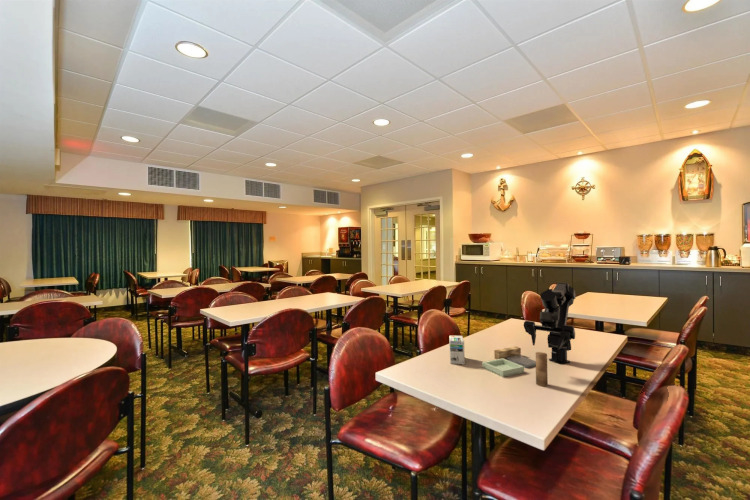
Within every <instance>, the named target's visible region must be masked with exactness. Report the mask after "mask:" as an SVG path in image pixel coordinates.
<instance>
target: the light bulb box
mask: <svg viewBox="0 0 750 500" xmlns="http://www.w3.org/2000/svg"><path fill="white" fill-rule="evenodd" d="M463 336H464V335H453V334H452V335H449V338H448V339H449V340H448V341H449V343H448V344H449V360H450V361H449V363H450V364H452V365H453V364H454V365H465V359H466V358H465V357H466V356H465V340H464V337H463Z"/></svg>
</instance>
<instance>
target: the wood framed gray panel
mask: <svg viewBox="0 0 750 500" xmlns="http://www.w3.org/2000/svg"><path fill="white" fill-rule="evenodd" d="M505 359H506V360H508V361H511V362H513V363H516V364H519V365H521V366H524V369H529V368H533V367H536V360H534V359H531V358H528V357H525V356H523V355H521V356H520V355H513V356H508V357H505Z"/></svg>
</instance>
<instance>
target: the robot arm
mask: <svg viewBox="0 0 750 500" xmlns="http://www.w3.org/2000/svg"><path fill="white" fill-rule="evenodd" d="M576 296H577V294H576V290H575V288H573V287H572V286H571V285H570V284H569V283H567V282H557V283H556V285H555V287H554V288H553V289H551V288H546V290H544V291H542V292H541V293H540V300H541V303H542V307H544V311H540V312H539V321H540V322H539V323H540V324H541V325H540V324H539V325H538V324H536V322H535V321H531V320H525V321H523V328H524V331H525V333H527V334H528V335H529V336H531V343H532V346H535V345H536V339H537V331H543V332H549V334H547V339H546V341H547V346H548V348H550V349H551V358H548V360H549V361H551V362H554V363H557V364H560V365H564V364H568V363H569V364H570V363H571V360H569V359H568V352H569V351H572V342H571V340H575V339H576V331H575V327H574V326H573V325H567V321H568V316H569V315H568V314H569V308H570V307H571V306H573V304H574V301H575V300H576V298H577V297H576Z"/></svg>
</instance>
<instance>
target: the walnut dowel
mask: <svg viewBox="0 0 750 500" xmlns="http://www.w3.org/2000/svg"><path fill="white" fill-rule="evenodd" d="M535 361H536V366H535V384H536V386H538V387H544V388H545V387H548V386H549V385H548V381H549V380H548V378H549V377H548V354H547V353H546V352H543V351H536V352H535Z"/></svg>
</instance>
